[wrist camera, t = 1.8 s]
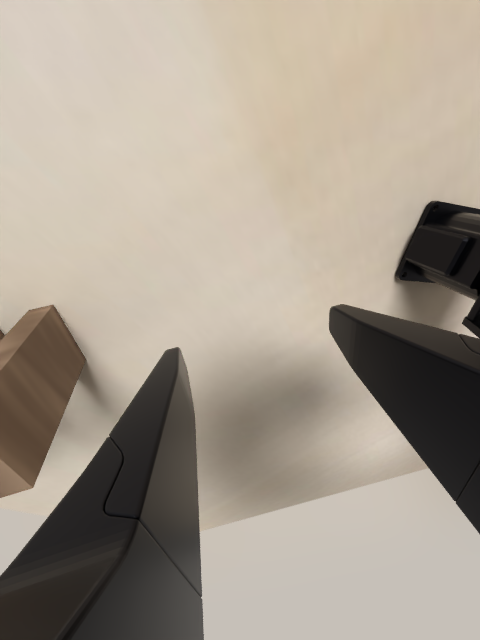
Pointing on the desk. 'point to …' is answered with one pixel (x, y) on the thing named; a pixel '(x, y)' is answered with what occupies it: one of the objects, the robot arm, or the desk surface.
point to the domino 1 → (33, 393)
